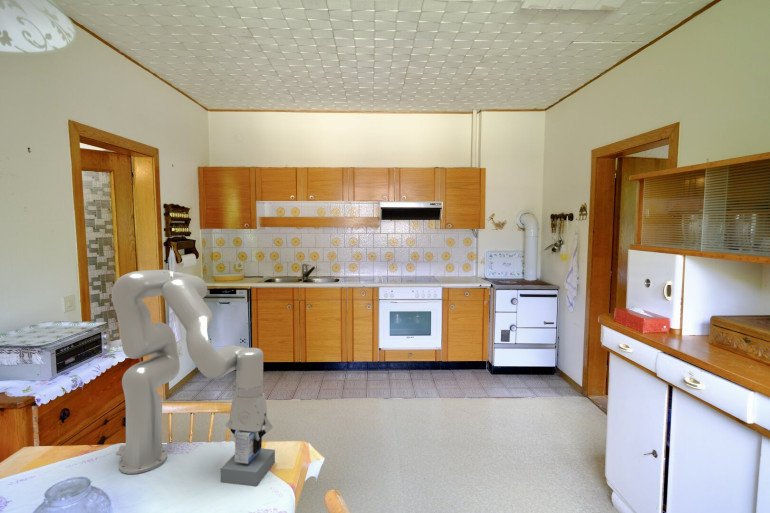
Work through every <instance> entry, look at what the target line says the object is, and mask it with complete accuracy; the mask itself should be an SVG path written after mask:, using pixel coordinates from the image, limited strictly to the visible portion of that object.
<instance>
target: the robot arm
mask: <svg viewBox="0 0 770 513" xmlns="http://www.w3.org/2000/svg"><path fill="white" fill-rule="evenodd" d="M207 293H208V287H207V284H206V282H205V280H204V279H203V278H201V277H200V276H197V275H194V274H189V273H185V272H184V273H183V272H181V271H173V270H170V269H152V270H151V269H148V270H136V271H132V272H128V273H126V274H123V275H121V276H120V277H119V278H117V280H116V281H115V282H114V284H113V286H112V289H111V300H112V304H113V308H114V311H115V313H116V317H117V322H118V330H119V335H120V341H121V342H120V343H121V347H122V351H123V354H124V355H125V357H127V358H129V359H134V360H136V359H141V358H143V357H147V356H149V357H150V358H147V359H144V360H142V361H140V362H138V363H135V364H133V365H131V366H130V367H129V368H128V369H127V370H126V371H125V372H124V373H123V376H122V378H121V385H122V390H123V394H124V401H125V444H121V445H120V446H119V448H118V451H117V450H116V453H115V455H116V457H117V456H119V457H120V456H121V457H122V460H121V461H120V463H119V465H118V468H119V471H120V472H121V473H123V474H129V475H133V474H141V473H145V472H149V471H150V470H154V469H156V468H158V467H159V466H161V465H162V464H164V462H166V460H167V459H168V454H169V453H168V451H167V450H166V449H164V448H163V401H162V398H161V396H160V394H159V392H158V388H160V387H163V385H165V384H168V383H169V382H171V381H172V380H173V381H174V379H175V378H177V377H178V374H179V373H180V367H181V366H180V364H181V363H180V358H179V351H178V345H177V340H176V335H175V331H174V330H173V328H172V327H171V326H170V325H168V324H167V323H164V322H159V321H157V322H153V320H152V317H151V316H152V315H151V311H150V309H149V307H148V306H147V304H146V303H145V302H144V299H145V298H153V297H159V296H162V297H163V299H164V300H165V302H166V303H167V304H168V306H169V307H170V310H171V311H172V312H173V313H174V315H175V316H176V318H177V319H178V320H179V322H180V324H181V325H182V326H183V327H184V330H185V332H186V333H185V334H186V335H185V336H186V337H185V341H186V347H187V352H188V355H189V357H190V359H191V360H192V362H193V363H194V364H195V366H196V368H197V369H198V371H199V372H200V373H201V374H203V376H205V377H206V378H208V379H211V380H217V379H220V378H223V377H224V376H226V375H227V374H229V373H231V372H234V371H235V370H236V378H235V379H236V384H234V385H233V386H232V390H233V391H235V394H233V396H232V400H231V406H230V411H229V412H230V414H229V420H228V421H227V422H226V424H225V426H226V428H227V429H229V430H230V432H231V433H232V434H233V437H234V438H235V435H236V433H237V432H239V431H249V432H254V434H255V440H254V453H255V454H256V453H257V452H258V451H259V450H260V449H261V448H262V446H263V441H262V440H263V436H265V434H267V433H269V432H270V431H271V430H272V429H273V425H272V424H271V422H270V421H269V419H268V406H267V399H266V398H267V397H266V395H265V392H263V391H264V387H263V386H264V351H263V350H262V349H261V348H258V347H243V346H239V345H234V344H231V345H230V344H229V345H226V346H224V347H221V348H218V349H217V350H216V348H215V347H214V346H213V344H212V342H211V340H210V338H209V335H208V334H209V333H208V331H209V328H208V327H209V326H210V323H211V321H212V320H213V318H214V315H213V312H212V311H211V309H210V308H209V306H208V305H207V304H206V302H205V301H204V298H205V297H206V295H207ZM263 427H264V429H263Z"/></svg>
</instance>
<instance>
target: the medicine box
mask: <svg viewBox="0 0 770 513" xmlns="http://www.w3.org/2000/svg"><path fill="white" fill-rule="evenodd" d="M254 440H255V434H254V432H249V431H239V432H237V433H236V435H235V437H234V442H235V443H234V455H235V462H238V463H245V464H248V463H249V462H250V461H251V460H252V459H253V458H254V457H255V456H256V455H257V454H258V453H259V452H260V451H261V449H260V450H259V451H258V452H257V453H256V454H255V453H254Z"/></svg>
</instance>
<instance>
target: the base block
mask: <svg viewBox="0 0 770 513" xmlns="http://www.w3.org/2000/svg"><path fill="white" fill-rule="evenodd" d="M275 462H276V449H271V448H262V447H261V451H260V452H259V453H258V454H257V455H256V456H255V457H254V458H253V459H252V460H251V461H250V462H249V463H248V464H245V463H238V462H235V454H233V455H232V456H231V457H230V458H229V460H228V461H226V462H225V463H224V464H223V465H222V466H221V468H220V483H225V484H233V485H234V484H236V485H243V486H253V487H257V486H258V485H259V484H260V482H261V481H262V480H263V479H264V478H265V476H266V474H267V473H268V471H270V469H271V468H272V467H273V465H274V464H275Z"/></svg>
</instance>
